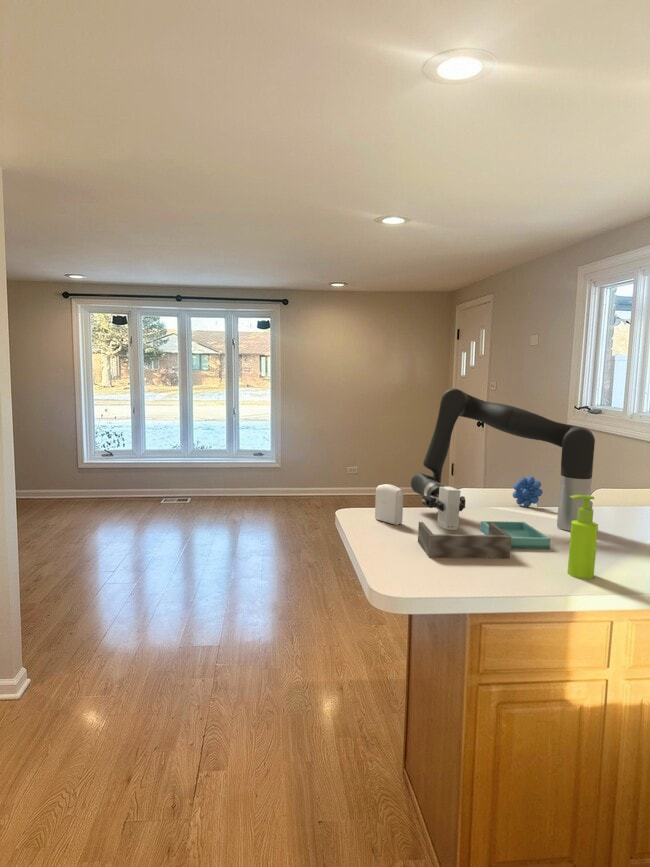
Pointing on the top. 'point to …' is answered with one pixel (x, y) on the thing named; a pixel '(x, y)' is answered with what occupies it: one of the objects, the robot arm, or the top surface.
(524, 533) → the tray
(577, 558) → the soap dispenser
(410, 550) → the top surface
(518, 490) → the blue knobbly flower shape
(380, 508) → the photo printer
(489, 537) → the bay
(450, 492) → the skincare box
